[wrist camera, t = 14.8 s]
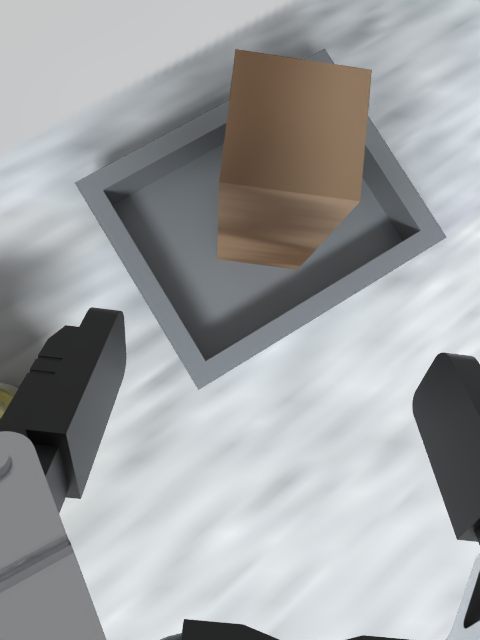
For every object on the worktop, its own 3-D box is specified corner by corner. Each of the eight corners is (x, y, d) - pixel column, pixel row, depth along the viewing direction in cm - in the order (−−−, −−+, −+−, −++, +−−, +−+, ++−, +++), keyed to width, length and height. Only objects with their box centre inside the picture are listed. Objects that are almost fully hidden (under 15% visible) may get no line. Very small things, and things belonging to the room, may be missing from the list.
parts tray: (311, 85, 25) (324, 48, 22) (418, 252, 25) (446, 237, 22) (92, 205, 24) (74, 183, 21) (200, 385, 23) (198, 389, 20)
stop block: (305, 192, 24) (371, 69, 14) (297, 269, 23) (360, 201, 13) (226, 181, 23) (235, 49, 13) (217, 259, 23) (219, 182, 13)
